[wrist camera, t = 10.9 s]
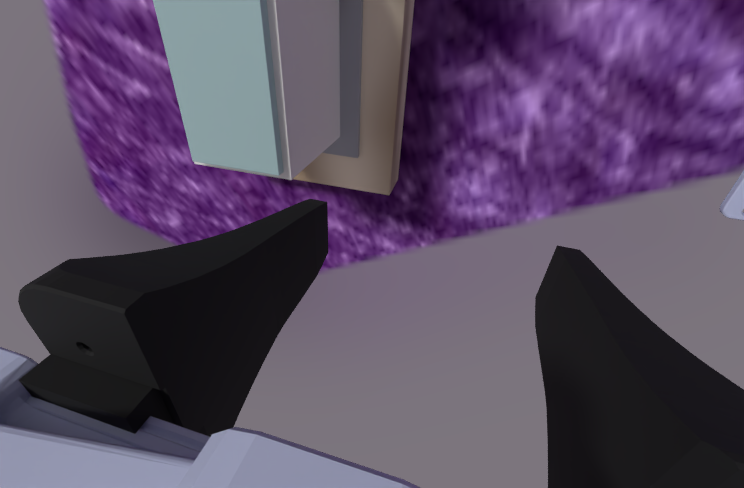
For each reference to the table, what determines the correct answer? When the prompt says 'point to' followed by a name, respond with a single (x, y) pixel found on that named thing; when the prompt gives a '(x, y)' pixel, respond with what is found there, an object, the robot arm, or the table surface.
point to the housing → (255, 80)
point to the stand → (368, 97)
